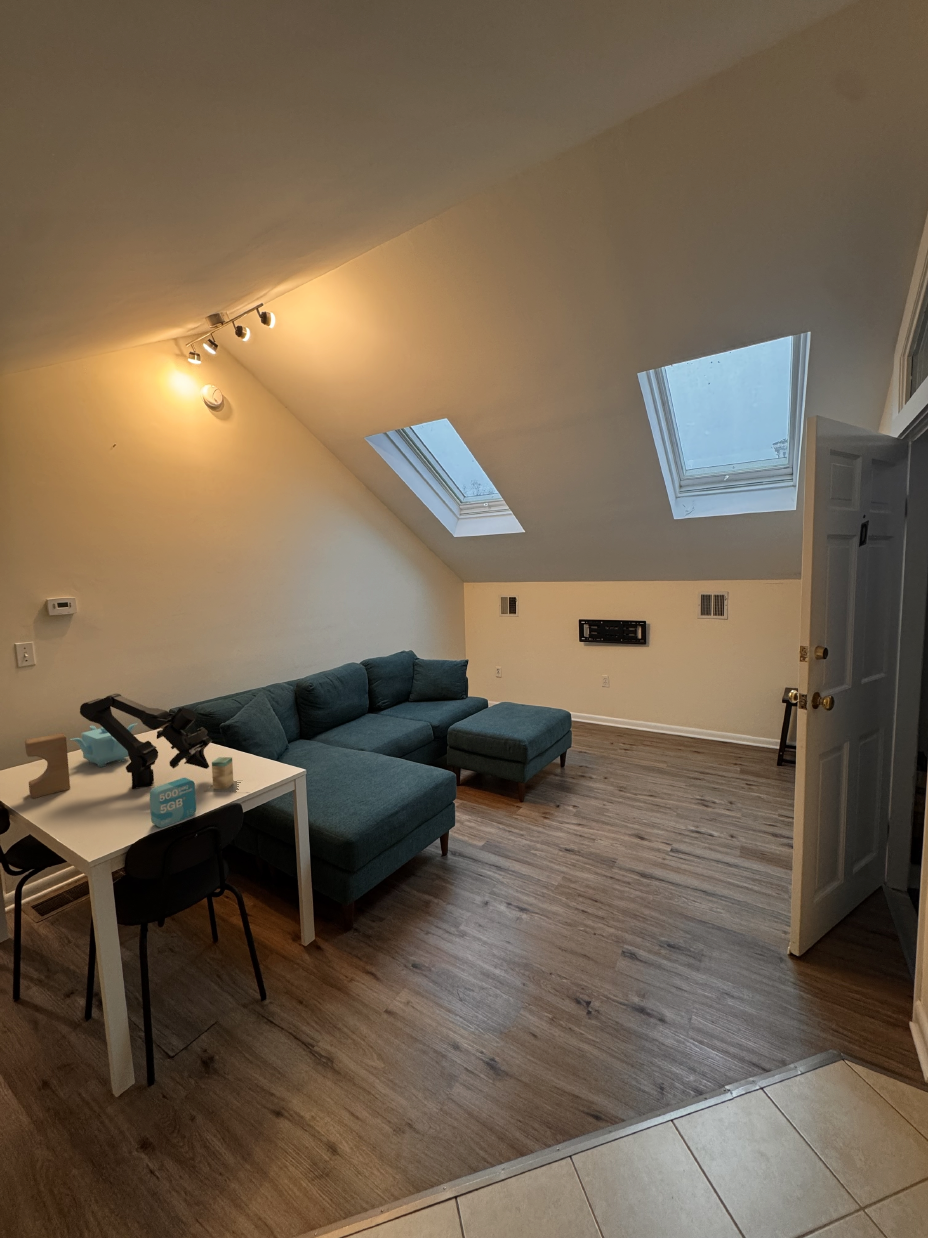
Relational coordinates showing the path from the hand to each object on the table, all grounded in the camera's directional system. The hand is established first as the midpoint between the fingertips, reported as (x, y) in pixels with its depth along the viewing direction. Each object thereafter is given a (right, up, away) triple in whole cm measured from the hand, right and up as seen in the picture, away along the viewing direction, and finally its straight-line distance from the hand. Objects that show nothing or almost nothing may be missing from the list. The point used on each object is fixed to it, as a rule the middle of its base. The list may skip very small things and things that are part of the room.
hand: (208, 767), depth 188 cm
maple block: (+5, -7, 0) cm, 9 cm away
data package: (+1, -10, -24) cm, 26 cm away
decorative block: (-55, -8, -4) cm, 56 cm away
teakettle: (-56, -5, +26) cm, 62 cm away
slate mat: (+9, -7, 0) cm, 12 cm away
